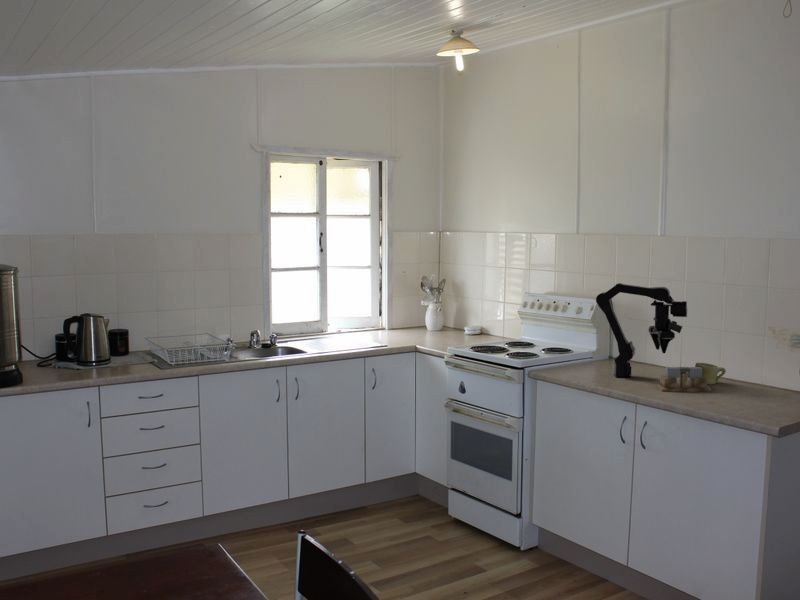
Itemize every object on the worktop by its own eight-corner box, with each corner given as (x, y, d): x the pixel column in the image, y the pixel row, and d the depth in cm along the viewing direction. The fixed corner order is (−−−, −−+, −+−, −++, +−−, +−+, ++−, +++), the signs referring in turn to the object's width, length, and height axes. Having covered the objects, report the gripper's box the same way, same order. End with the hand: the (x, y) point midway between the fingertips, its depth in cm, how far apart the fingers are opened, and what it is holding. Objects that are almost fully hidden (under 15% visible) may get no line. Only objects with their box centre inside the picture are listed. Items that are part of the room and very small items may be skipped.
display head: (661, 391, 309) (662, 374, 309) (655, 386, 318) (655, 370, 318) (711, 391, 308) (712, 374, 308) (703, 386, 317) (704, 370, 317)
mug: (689, 379, 322) (696, 357, 323) (691, 382, 331) (698, 361, 332) (719, 388, 316) (726, 365, 317) (721, 391, 325) (727, 369, 326)
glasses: (667, 377, 312) (667, 368, 311) (665, 376, 315) (665, 366, 314) (701, 378, 311) (702, 368, 311) (699, 376, 314) (699, 367, 314)
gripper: (687, 318, 320) (686, 355, 321) (673, 313, 338) (672, 347, 340) (660, 318, 320) (659, 355, 322) (648, 313, 339) (647, 347, 340)
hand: (660, 351), depth 331 cm, fingers open, 9 cm apart
